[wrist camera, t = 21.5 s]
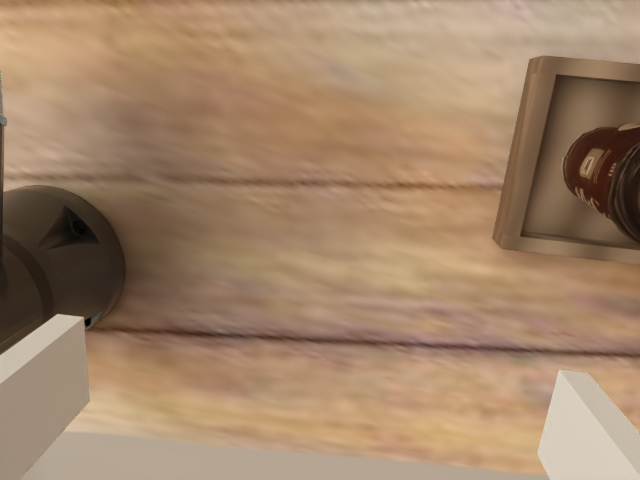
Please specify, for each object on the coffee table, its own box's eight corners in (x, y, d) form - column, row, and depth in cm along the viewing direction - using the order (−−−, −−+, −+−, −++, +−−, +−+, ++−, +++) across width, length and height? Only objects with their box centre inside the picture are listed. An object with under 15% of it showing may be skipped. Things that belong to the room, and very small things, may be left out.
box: (492, 238, 43) (502, 248, 40) (529, 59, 38) (543, 55, 35) (652, 256, 42) (675, 269, 39) (709, 75, 37) (740, 73, 34)
